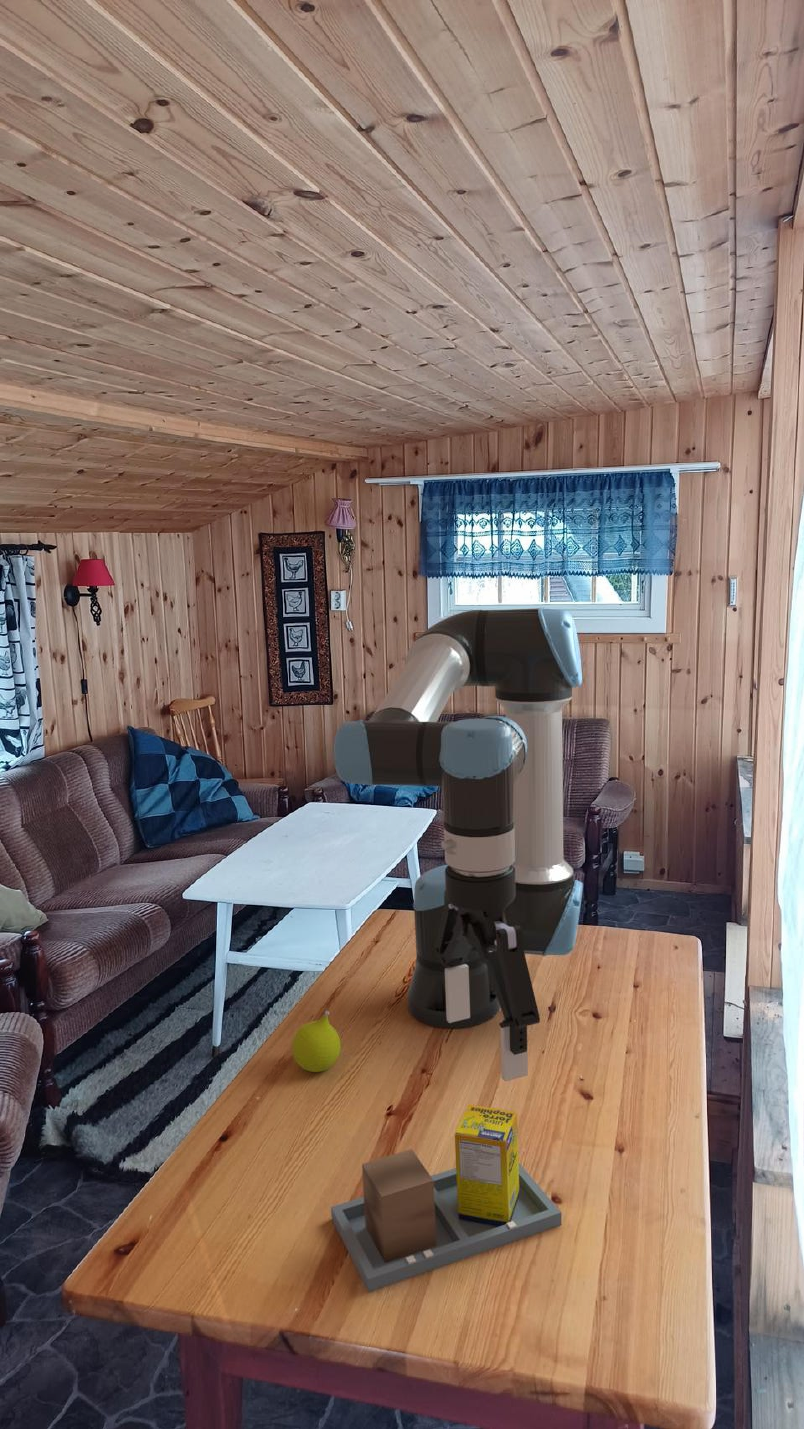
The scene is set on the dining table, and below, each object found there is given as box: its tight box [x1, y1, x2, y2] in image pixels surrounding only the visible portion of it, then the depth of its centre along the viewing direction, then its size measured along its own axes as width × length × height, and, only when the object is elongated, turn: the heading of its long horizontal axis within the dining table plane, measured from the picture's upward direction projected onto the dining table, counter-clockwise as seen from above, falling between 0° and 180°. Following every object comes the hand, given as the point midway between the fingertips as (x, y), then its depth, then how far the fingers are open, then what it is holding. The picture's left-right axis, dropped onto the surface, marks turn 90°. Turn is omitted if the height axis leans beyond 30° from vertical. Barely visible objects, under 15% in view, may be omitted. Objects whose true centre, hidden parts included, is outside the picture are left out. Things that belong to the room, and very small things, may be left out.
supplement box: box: [454, 1103, 520, 1226], centre depth 112 cm, size 6×6×11 cm
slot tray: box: [330, 1162, 562, 1293], centre depth 110 cm, size 12×23×2 cm, turn 112°
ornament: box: [291, 1010, 342, 1073], centre depth 143 cm, size 7×7×10 cm
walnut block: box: [361, 1149, 436, 1263], centre depth 108 cm, size 6×6×8 cm
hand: (484, 1046), depth 109 cm, fingers open, 13 cm apart
